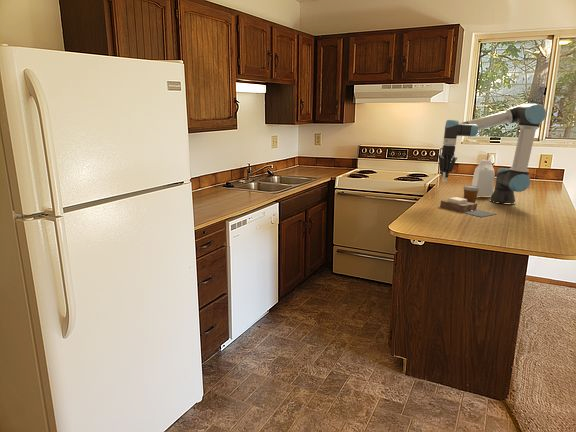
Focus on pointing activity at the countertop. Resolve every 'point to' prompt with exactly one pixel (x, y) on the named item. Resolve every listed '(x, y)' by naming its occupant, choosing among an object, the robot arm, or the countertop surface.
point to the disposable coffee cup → (470, 193)
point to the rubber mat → (479, 213)
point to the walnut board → (458, 206)
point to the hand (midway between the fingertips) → (444, 182)
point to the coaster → (457, 200)
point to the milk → (484, 178)
